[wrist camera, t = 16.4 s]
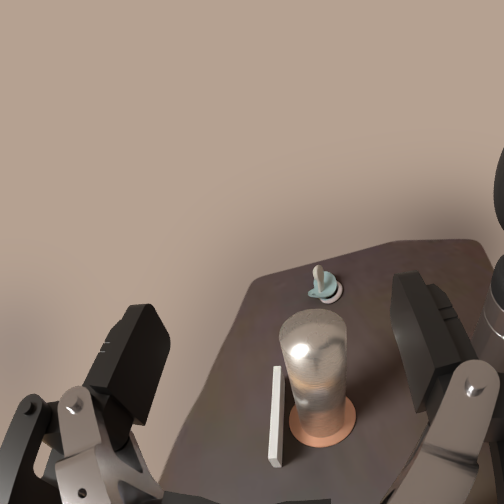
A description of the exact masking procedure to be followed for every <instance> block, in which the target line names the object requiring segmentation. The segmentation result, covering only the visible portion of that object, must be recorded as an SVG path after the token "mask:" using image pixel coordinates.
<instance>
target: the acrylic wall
mask: <svg viewBox="0 0 504 504" xmlns="http://www.w3.org/2000/svg"><path fill="white" fill-rule="evenodd" d="M284 397H285V379H284V376H283V372H282V368H281V366H274V371H273V389H272V407H271V423H270V438H269V452H268V459H269V461H270V462H271V464H272V465H273V467H282V451H283V427H284Z"/></svg>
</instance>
